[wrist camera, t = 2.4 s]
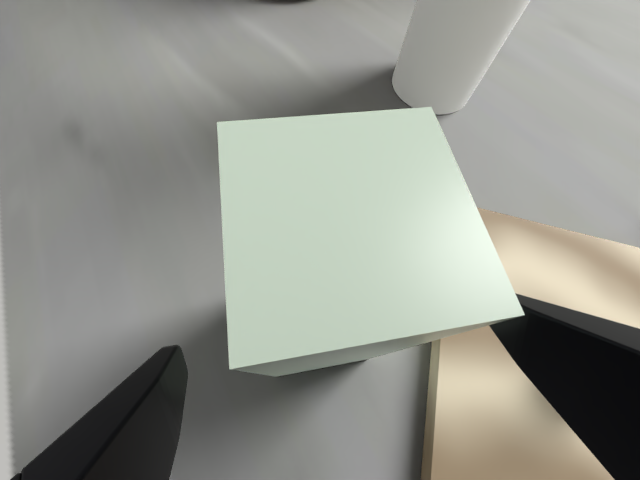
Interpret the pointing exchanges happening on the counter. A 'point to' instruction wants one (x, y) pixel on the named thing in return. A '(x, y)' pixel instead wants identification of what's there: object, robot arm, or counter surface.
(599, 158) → the counter surface
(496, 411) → the post base
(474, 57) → the cylindrical container
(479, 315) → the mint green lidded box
